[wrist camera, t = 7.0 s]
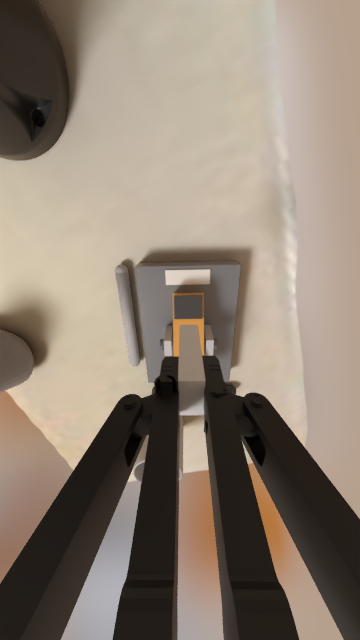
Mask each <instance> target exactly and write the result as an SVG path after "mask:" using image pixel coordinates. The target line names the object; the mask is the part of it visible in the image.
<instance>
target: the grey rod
mask: <svg viewBox="0 0 360 640" xmlns="http://www.w3.org/2000/svg"><path fill="white" fill-rule="evenodd" d="M115 272H116V279H117V285H118V291H119V298H120V304H121V310H122V317H123V323H124V329H125V336H126V342H127V348H128V354H129V361H130V364H131V365H132V366H134V367H135V366H138V365H139V363H140V357H139V349H138V342H137V334H136V326H135V319H134V311H133V304H132V296H131V288H130V281H129V273H128V269H127V267H126V266H124V265H119V266H117V267H116V269H115Z"/></svg>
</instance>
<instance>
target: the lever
mask: <svg viewBox="0 0 360 640" xmlns="http://www.w3.org/2000/svg"><path fill="white" fill-rule="evenodd" d="M180 325H198V329H199V337H200V344H201V352H202V356H204V293H173V341H174V356H179V334H180Z"/></svg>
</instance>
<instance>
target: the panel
mask: <svg viewBox="0 0 360 640" xmlns="http://www.w3.org/2000/svg"><path fill="white" fill-rule="evenodd" d="M240 269H241V264H239V263H238V262H237V261H196V262H149V263H139V264H138V265H137V266H135V271H136V279H137V288H138V296H139V305H140V313H141V322H142V331H143V339H144V348H145V356H146V365H147V374H148V382H149V383H154V381H155V379H156V378H157V377H158V376H160V371H161V364H162V360H163V359H164V358H165V357H167V356H174V341H173V293H204V356H213V355H215V356H216V357H217V358H218V360H219V363H220V367H221V371H222V375H223V379H224V382H229V378H230V368H231V358H232V348H233V339H234V329H235V319H236V309H237V299H238V289H239V279H240Z"/></svg>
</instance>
